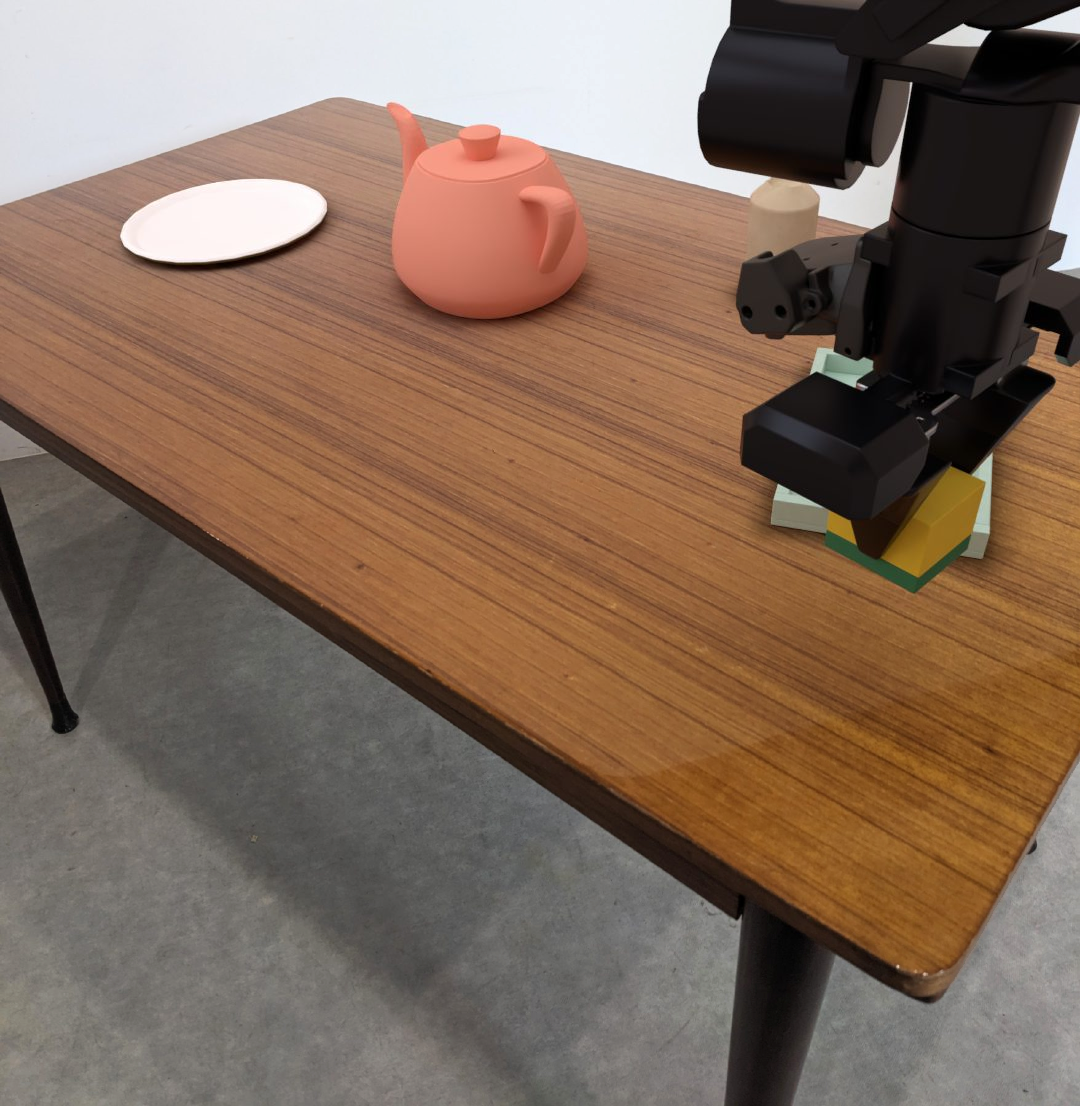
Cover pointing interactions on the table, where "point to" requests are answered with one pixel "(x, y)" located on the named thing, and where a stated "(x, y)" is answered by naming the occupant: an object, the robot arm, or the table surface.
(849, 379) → the tray
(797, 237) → the candle
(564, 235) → the teapot
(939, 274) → the robot arm
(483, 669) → the table surface
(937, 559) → the sponge
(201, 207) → the plate
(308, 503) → the table surface
